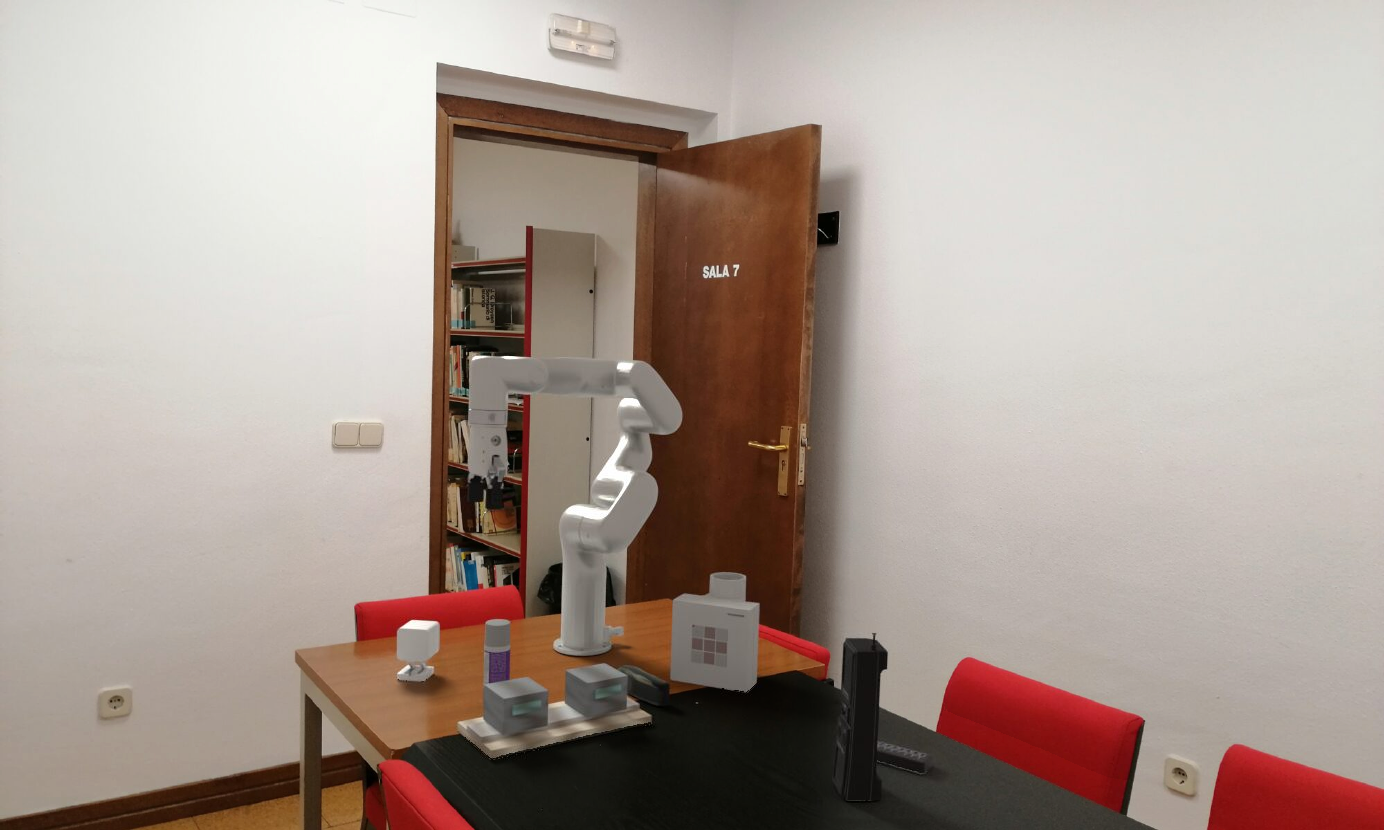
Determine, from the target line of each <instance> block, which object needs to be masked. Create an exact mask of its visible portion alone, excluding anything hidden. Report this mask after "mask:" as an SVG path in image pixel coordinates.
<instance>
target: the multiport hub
mask: <svg viewBox="0 0 1384 830" xmlns="http://www.w3.org/2000/svg"><path fill="white" fill-rule="evenodd" d="M877 760H878V761H880V762H885V763H887V764H892V765H895V766H897V767H902V768H905V769H909V770H912V771H917V772H919V773H925V772H926V771H928V770H929V769H930V768H931V767H932V768H933V765H934V755H933V754H931V753H927V752H924V751H919V750H916V749H911V748H908V747H904V746H900V745H896V744H893V743H889V742H886V741H881V740H878V744H877ZM932 768H931V769H932ZM931 769H930V770H931ZM930 770H929V771H930ZM929 771H928V772H929Z"/></svg>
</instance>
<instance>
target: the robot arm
mask: <svg viewBox="0 0 1384 830" xmlns="http://www.w3.org/2000/svg"><path fill="white" fill-rule="evenodd" d="M469 367H470V369H469V391H468V392H469V394H468V395H469V396H468V414H467V415H468V418H467V419H468V420H467V426H469V427H470V432H469V438H468V439H469V440H468V441H469V442H468V452H467V473H468V476H467V482H468V483H467V502H468V503H483V502H484V504H485V505H484V507H485V509H486V510H501V509H503V493H504V492H503V490H504V481H505V477H506V476H508V437H507V436H508V435H507V430H506V428H507V427H508V414H509V413H508V409H509V394H516V395H517V394H518V395H526V396H527V395H535V394H542V395H552V396H558V397H563V398H564V397H567V398H600V399H601V398H607V399H608V398H609V399H610V398H611V399H613V398H614V399H621V401H620V402H619V404H618V406H617V410H616V421H617V426H618V434H619V437H618V438H619V439H618V444H617V446H616V448H615V450H614V451H613V453H612V455H611V456H610V457H609V459H608V460H607V462H606V463H605V464H604V466H603V467H602V469H601V470H600V471H599V473H598V475H596V477H595V479H594V480H593V482H592V485H591V487H590V496H591V500H593V502H594V503H595V504H596V505H594V504H589V503H588V504H587V503H578V504H577V503H576V504H573V505H571V506H569V507H567V508H566V509H565V510H564V511H563V513H562V514H561V517H560V519H559V524H558V533H559V540H560V546H561V553H562V554H561V555H562V577H561V578H562V579H561V580H562V581H561V582H562V583H561V584H562V585H561V616H560V617H561V620H560V637H559V638H557V639H555V640H553V645H552V646H553V649H554V650H555V651H556V652H558V653H560V654H564V655H568V656H576V657H577V656H579V657H585V656H588V657H589V656H595V655H596V656H597V655H601V654H606V652H609V651H610V650H611V649H612V642H611V640H610V639H611V638H612V637H619V636H623V635H624V633H625V628H624V627H623V626H622V625H621V626H615V627H613V626H612V625H608V626H607V625H606V623H605V622H606V594H607V593H606V592H607V591H606V589H607V587H606V586H607V564H606V559H605V558H606V557H605V555H613V556H614V555H618V554H621V553H623V552H624V551H625V550H627V549H628V547H629V546H630V544H631V543H632V542H633V541H634V539H635V538H636V536H637V535H638V533H639V532H640V530H641V529H642V527H643V525H644V524H645V523H646V521H647V520H648V518H649V517H650V515H651V513H652V512H653V510H654V508H655V506H656V504H657V501H658V496H659V487H658V484H657V480H656V478H654V477H653V475H651V474H650V473H648V472H647V471H648V468H649V467H650V465H651V462H652V459H653V450H652V443H651V437H650V434H652V435H653V434H654V435H660V436H661V435H662V436H663V435H670V434H673V433H675V432H676V431H677V430H678V429H679V428H680V427H681V424H682V421H683V410H682V407H681V404H680V402H679V400H678V399H677V398H676V396H675V394H674V393H673V392H672V391H671V390H670V388H669V387H668V385H667V384H666V382H665V381H664V380H663V378H662V377H661V376H660V374H659V373H658V371H656V370H655V369H654V368H653V367H652V365H650V364H649V363H647V362H646V361H643V360H635V359H634V360H633V359H629V360H628V359H611V358H610V359H609V358H595V357H594V358H593V357H591V358H590V357H579V356H577V357H576V356H575V357H573V356H572V357H571V356H568V357H567V356H564V357H560V356H559V357H531V356H530V357H529V356H509V355H506V356H505V355H504V356H503V355H502V356H495V355H493V356H492V355H491V356H490V355H476V356H474V357H472V359H471V361H470V366H469ZM484 478H485V481H486V484H487V487H486V488H485V481H484ZM484 496H485V497H484ZM484 499H485V501H484ZM604 554H605V555H604Z"/></svg>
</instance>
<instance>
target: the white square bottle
mask: <svg viewBox="0 0 1384 830" xmlns="http://www.w3.org/2000/svg"><path fill="white" fill-rule="evenodd" d="M746 589H747V575H745V574H742V573H739V572H738V573H737V572H725V571H722V572H714V573H711V574H710V575H709V592H708V593H706V594H705V595H702V594H701V595H699V594H691V593H682V594H680V595H679V596H677V597H675V598H674V599H673V600H672V612H671V614H672V615H671V646H670V647H671V648H670V673H669V674H670V681H674V682H680V683H686V684H693V685H699V686H706V687H710V688H716V689H722V688H724V690H728V691H734V690H739V691H738V692H740V691H744V692H743V693H746V692H747V691H748V690H749V691H751V690H752V689H753V688H754V687H755V686H756V685H757V684H756V683H757V680H758V656H759V655H758V654H759V633H760V632H759V631H760V629H759V628H760V627H759V626H760V602H752V601H746V599H747V597H746V594H747V593H746V592H747V591H746ZM755 684H756V685H755ZM754 685H755V686H754ZM753 686H754V687H753ZM752 687H753V688H752ZM751 688H752V689H751ZM750 689H751V690H750ZM749 691H748V692H749ZM748 692H747V693H748Z"/></svg>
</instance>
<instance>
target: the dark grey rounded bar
mask: <svg viewBox="0 0 1384 830" xmlns="http://www.w3.org/2000/svg"><path fill="white" fill-rule="evenodd" d="M616 670H618V671H620V672H622V673H624V674H626V675H627V676H628V682H627V695H630V696H632V697H635V698H638V699H639V700H640V701H642V702H645V701H646V702H645V703H647V702H648V703H647V704H649V703H650V704H649V705H651V704H653V705H656V706H655V707H657V706H664V707H667V706H669V705H670V693H671V692H670V689H671V684H670V682H668V681H666V680H664V679H661V678H659V677H658V676H656V675H653V674H652V673H649V672H647V671H645V670H644V669H642V668H640V667H638V666H635V665H627V664H625V665H620V666H619V667H617V669H616ZM653 705H652V706H653Z"/></svg>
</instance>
